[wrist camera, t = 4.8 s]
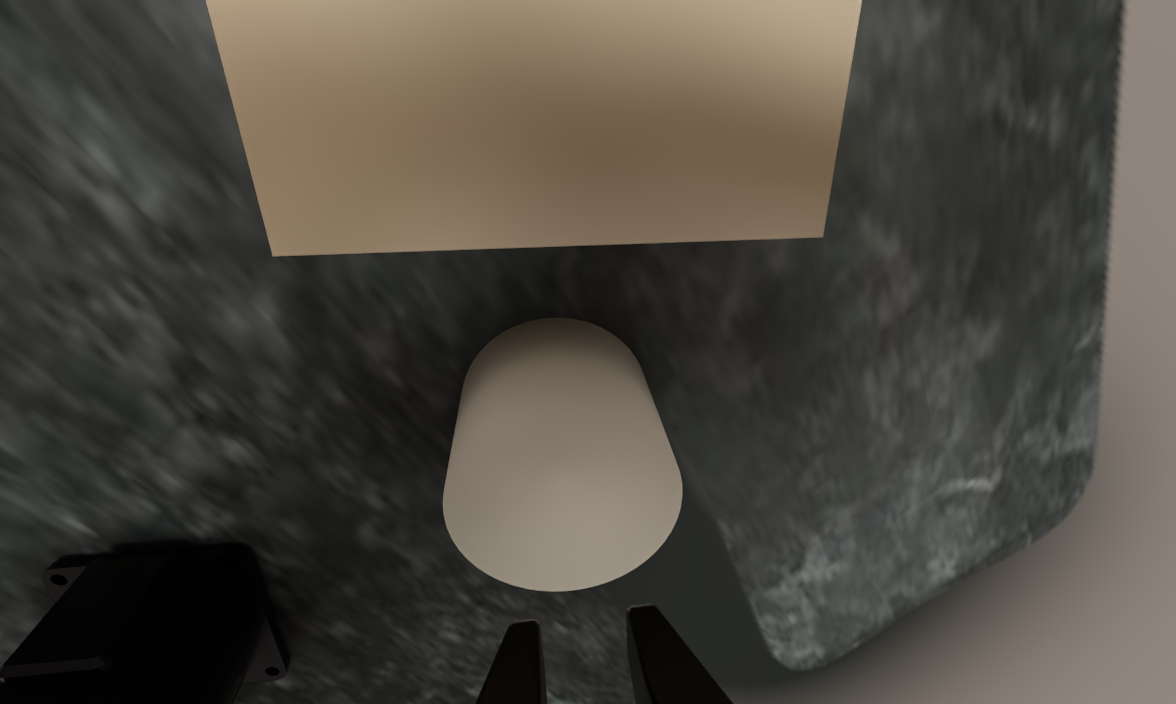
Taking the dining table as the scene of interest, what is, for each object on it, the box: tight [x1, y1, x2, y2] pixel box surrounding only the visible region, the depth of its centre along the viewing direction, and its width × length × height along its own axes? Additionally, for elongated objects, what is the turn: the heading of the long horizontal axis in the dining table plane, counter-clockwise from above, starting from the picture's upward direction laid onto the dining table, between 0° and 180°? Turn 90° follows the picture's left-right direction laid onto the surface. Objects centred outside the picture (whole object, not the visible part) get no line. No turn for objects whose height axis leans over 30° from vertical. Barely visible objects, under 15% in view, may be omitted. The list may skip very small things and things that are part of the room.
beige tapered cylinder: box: [443, 318, 682, 591], centre depth 17 cm, size 6×6×5 cm
